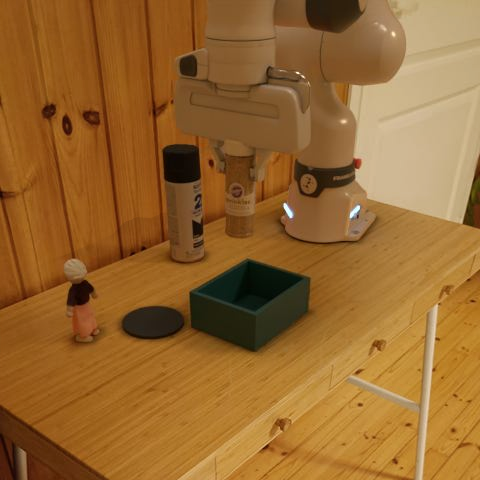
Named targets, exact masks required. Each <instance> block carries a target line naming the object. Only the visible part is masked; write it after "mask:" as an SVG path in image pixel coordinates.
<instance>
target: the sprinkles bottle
mask: <svg viewBox="0 0 480 480" xmlns="http://www.w3.org/2000/svg"><path fill="white" fill-rule="evenodd" d="M223 147H224V152H225V156H226V169H225V172H226V173H225V174H226V175H225V174H224V175H225V178H224V179H225V180H224V181H225V182H224V183H225V189H224V211H225V229H224V232H225V235H226V236H228V237H230V238H233V239H242V240H243V239H249V238H251V237H253V236H254V235H255V234H256V228H255V223H256V222H255V221H256V219H255V216H256V193H257V190H256V189H257V188H256V187H257V182H255V181H251V180H249V176H250V173H249V168H250V167H253V166H255V165H256V163H257V156H256V148H254V147H249V146H244V145H243V144H242V143H241V142H239V141H234V140H229V139H226V140H225V141H224V145H223Z"/></svg>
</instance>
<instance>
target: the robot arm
mask: <svg viewBox="0 0 480 480" xmlns="http://www.w3.org/2000/svg"><path fill="white" fill-rule="evenodd" d="M204 2H205V4H206V13H207V17H206V25H205V29H204V47H203V46H202V47H200V48H197V49H196V50H193V51H190V52H188V53H185V54H182V55H179V56H176V57H175V58H174V61H173V68H174V74H175V75H176V76H178V78H177V79H176V81H175V82H174V83H175V84H174V89H173V90H174V91H173V107H174V122H175V125H176V127H177V128H178V129H177V130H179V132H180V133H181V134H184V135H189V136H194V137H198V138H204V139H208V147H209V149H210V151H211V153H212V156H213V158H214V159H215V161H216V172H217V173H218V174H220V175H226V174H225V173H226V172H225V169H226V156H225V152H224V141H225V140H226V139H229V140H234V141H239V142H241V143H242V144H243V145H244V146H249V147H254V148H256V157H257V160H256V165H255V166H253V167H250V168H249V173H250V176H249V180H251V181H255V182H256V183H261V182H263V181H265V179H266V167H268V166H267V165H268V164H269V162H270V161H271V159H272V157H273V155H274V152H276V153H279V154H284V155H285V154H286V155H290V156H293V155H297V156H296V158H295V160H294V165H293V179H294V180H293V181H292V182H291V183H290V184H289V186H288V192H287V199H286V203H283V208H284V210H285V214H284V215H281V217H280V223H281V224H282V225H283V226H284V231H285V232H286V234H288V235H289V236H290V237H293V238H295V239H297V240H301V241H305V242H310V243H336V242H357V241H359V240H360V239H361V238H362V237H363V235H364V234H365V233H366V231H367V230H368V229H369V228H370V227H371V225H372V224H373V223H374V222H375V220H376V218H377V216H376V215H377V214H375V212H373V211H371V210H369V209H367V202H368V193H367V190H366V189H364V188H363V187H362V186H361V185H360V183H359V182H358V181H357V179H356V178H357V177H356V172H357V171H356V170H360V169H361V167H362V164H363V163H362V158H356V157H354V153H355V145H356V135H357V125H358V124H357V119H356V115H355V114H354V112H353V110H351V108H350V107H348V106H347V105H345V103H344V102H342V100H341V99H340V97H339V95H338V94H337V90H336V86H335V84H344V85H351V86H360V87H364V86H375V85H381V84H382V85H383V84H387V83H389V82H390V81H391V80H392V79H393V78H394V77H395V76H396V75H397V73H398V72H399V71H400V69H401V67H402V65H403V64H404V60H405V57H406V52H407V38H406V32H405V30H404V27H403V25H402V23H401V21H400V20H399V19H398V18H397V16H396V15H395V14H394V12H393V11H392V8H391V7H390V4H389V2H388V0H205V1H204Z"/></svg>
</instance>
